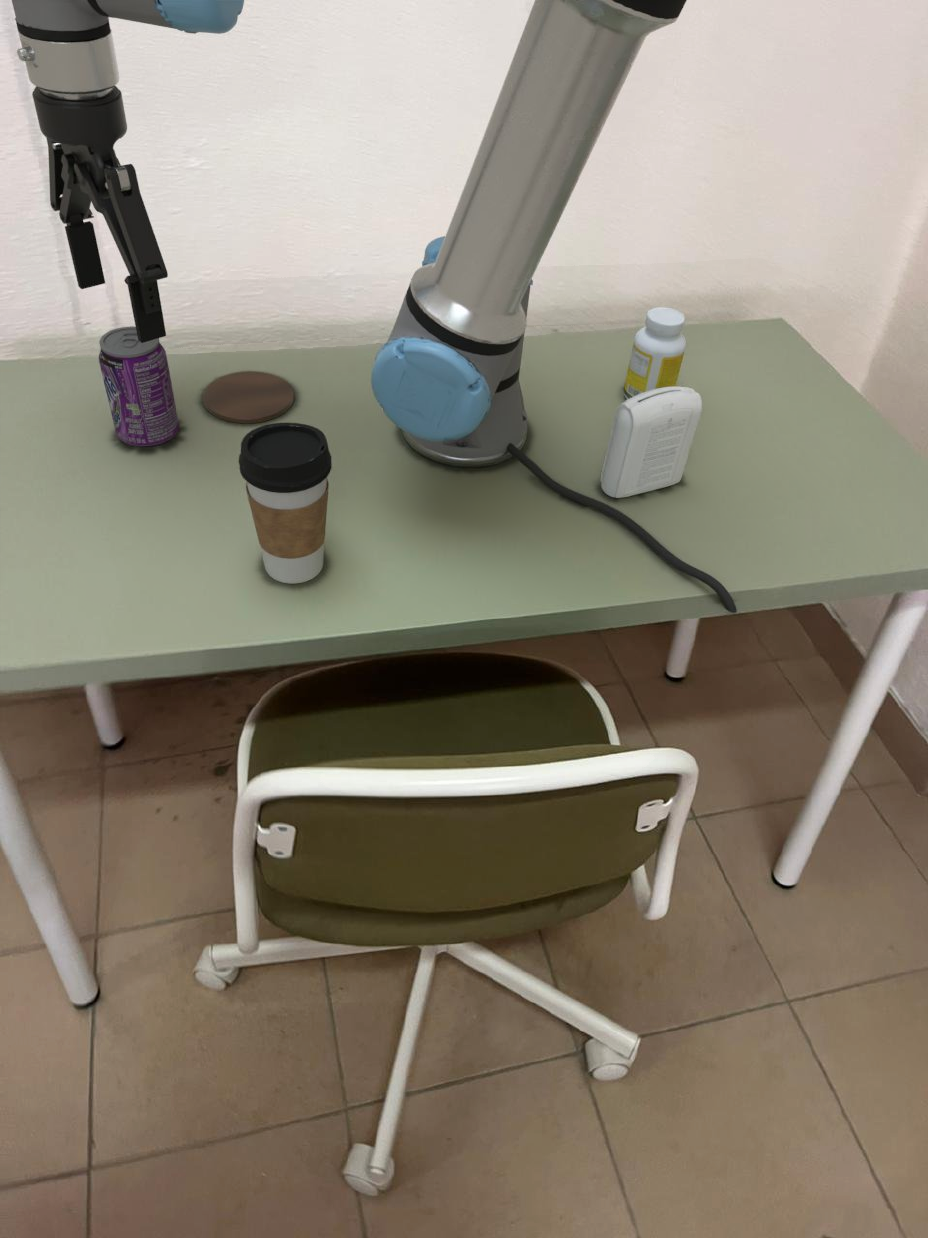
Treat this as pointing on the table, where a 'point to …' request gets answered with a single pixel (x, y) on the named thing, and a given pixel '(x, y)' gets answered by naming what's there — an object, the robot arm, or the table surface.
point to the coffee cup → (288, 496)
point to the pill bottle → (656, 352)
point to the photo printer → (650, 441)
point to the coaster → (248, 397)
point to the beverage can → (138, 388)
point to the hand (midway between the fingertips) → (121, 310)
